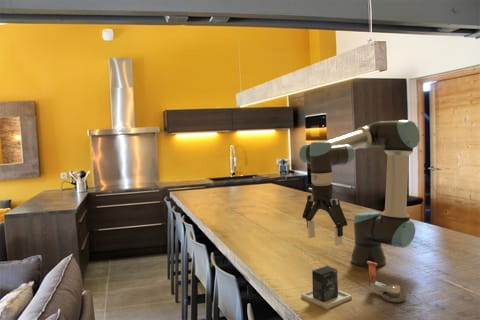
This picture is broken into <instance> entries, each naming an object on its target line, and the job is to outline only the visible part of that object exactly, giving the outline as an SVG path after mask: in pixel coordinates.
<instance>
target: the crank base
mask: <svg viewBox="0 0 480 320" xmlns="http://www.w3.org/2000/svg"><path fill="white" fill-rule="evenodd" d="M406 298H407V297H406V295H405V294H404V293H402V292H400V296H399V297H390V296H388V295H387V292H385V291H382V294H381V299H382V300H383V301H384V300H385V301H384V302H386V301H387V303H389V302H390V304H404V303H405V302H406V300H407V299H406Z"/></svg>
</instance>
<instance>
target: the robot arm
mask: <svg viewBox="0 0 480 320" xmlns="http://www.w3.org/2000/svg"><path fill="white" fill-rule="evenodd" d="M420 134H421V133H420V130H419V128H418V126H417V123H415V122H414V121H412V120H410V119H399V120H398V119H396V120H385V121H384V120H379V121H374V122H373V123H369V124H366V125H364V126H360V127H358V128H356V129H355V130H354V131H351V132H349V133H345V134H343V135H340V136H336V137H333V138H331V139H326V140H324V141H312V142H311V143H310V144H305V145H302V146H301V147H300V150H299V153H298V154H299V155H298V156H299V159H300V160H301V162H302V163H306V164H310V176H311V178H310V179H311V181H310V182H311V183H312V185H311V193H312V194H309V195H307V197H306V203H305V206H304V209H303V213H302V218H303V219H305V221H306V228H307V236H308V239H312V238H315V237H316V235H315V234H316V232H315V230H316V229H315V220H314V217H315V216H316V214H317V213H318V212H319V210H323V211H325V213H327V214H328V215H329V217H330V218H331V220H332V221H333V223H334V225H335V227H334V244H335V245H334V246H336V247H338V246H341V245H343V236H344V227H347V226H348V222H347V220H346V217H345V216H346V215H345V214H344V212H343V209H342V207H341V203H340V198H333V194H334V188H333V166H342V165H347V164H349V163H352V162H353V160H354V159H355V150H358V149H368V148H383V152H384V153H385V154H386V155H387V157H386V159H387V160H386V178H385V179H386V180H385V201H384V202H385V203H384V210H383V211H382V212H380V211H373V210H372V211H365V212H364V211H363V212H359V213H356V214H354V219H353V227H354V228H353V229H354V230H353V231H354V248H353V251H352V254H351V258H350V259H351V263H352V264H354V265H356V266H357V267H358V266H359V267H362V268H363V267H364V268H369V264H367V261H370V262H374V263H377V266H375V268H377V267H379V268H380V267H383V266H384V265H386V263H387V262H386V261H387V258H386V255H385V253H384V249H383V247H382V246H383V245H388V246H392V247H394V248H404V249H405V248H407V247H409V245H410V244H411V243H412V242H413V240H414V238H415V236H416V226H415V223H414V222H413V221H411V218H410V217H411V216H410V214H409V213H408V212H407V205H408V204H407V201H408V181H409V159H410V158H409V157H410V155H412V153H414V148H417V146H418V145H419V142H420V139H421V138H420V137H421V135H420ZM382 244H383V245H382Z"/></svg>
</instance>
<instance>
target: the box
mask: <svg viewBox="0 0 480 320" xmlns="http://www.w3.org/2000/svg"><path fill="white" fill-rule="evenodd" d="M311 273H312V275H311V277H312V278H311V280H312V290H313V298H315V299H317V300H319V301H322V302H325V301H327V300H330V299H332V298H335V297H338V290H339V284H338V283H339V280H338V279H339V278H338V269H337V268H335V267H331V266H328V265H325V266H322V267H319V268H317V269H312V272H311Z"/></svg>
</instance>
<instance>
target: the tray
mask: <svg viewBox="0 0 480 320" xmlns="http://www.w3.org/2000/svg"><path fill="white" fill-rule="evenodd" d="M300 297H301V298H302V299H303V300H305V301H308V302H309V303H312V304H314V305H317V306H319V307H321V308H323V309H325V310H328V309H331V308H334V307H336V306H339V305H341V304H344V303H347V302H348V301H351V300H352V299H353V296H352V294H350V293H347V292H345V291H342V290H339V289H338V297H335V298H332V299H330V300H327V301H325V302H322V301H319V300H317V299H315V298H313V289H311V290H308V291H305V292H303V293H301V296H300Z"/></svg>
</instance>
